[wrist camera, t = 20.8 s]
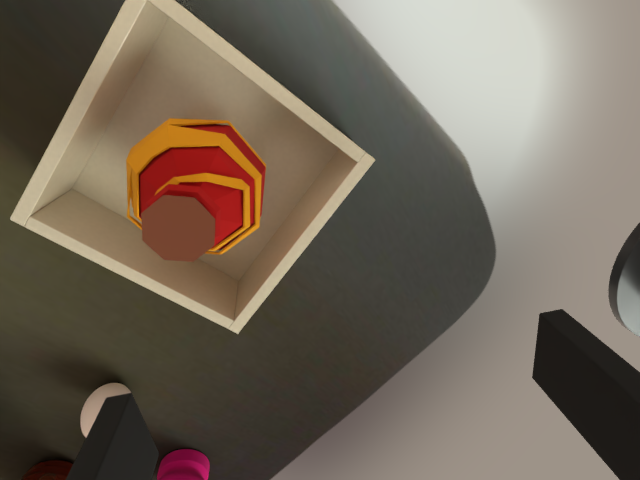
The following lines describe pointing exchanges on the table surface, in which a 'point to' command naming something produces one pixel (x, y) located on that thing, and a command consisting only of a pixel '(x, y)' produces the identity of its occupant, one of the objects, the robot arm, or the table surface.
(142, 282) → the cream open box
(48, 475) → the mug
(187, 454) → the pepper mill
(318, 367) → the table surface
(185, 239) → the potion bottle
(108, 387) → the egg
